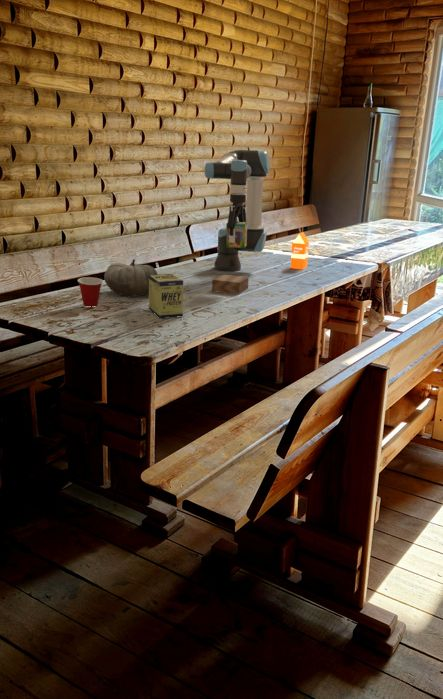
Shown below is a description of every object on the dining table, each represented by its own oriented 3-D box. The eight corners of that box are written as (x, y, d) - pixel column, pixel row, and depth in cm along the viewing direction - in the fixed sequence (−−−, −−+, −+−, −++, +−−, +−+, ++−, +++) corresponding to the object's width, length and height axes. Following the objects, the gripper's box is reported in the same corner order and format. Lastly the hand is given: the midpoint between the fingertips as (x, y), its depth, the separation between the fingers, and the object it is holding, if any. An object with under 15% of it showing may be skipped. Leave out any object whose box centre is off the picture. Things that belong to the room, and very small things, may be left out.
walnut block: (212, 291, 330) (212, 279, 328) (221, 286, 343) (222, 274, 341) (239, 294, 326) (239, 282, 324) (248, 288, 338) (248, 277, 336)
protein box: (159, 319, 280) (159, 282, 275) (148, 309, 294) (148, 274, 289) (183, 317, 284) (183, 280, 279) (171, 307, 298) (171, 273, 293)
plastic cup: (92, 311, 289) (91, 283, 285) (73, 307, 294) (72, 280, 290) (108, 306, 297) (108, 279, 294) (90, 302, 303) (89, 275, 299)
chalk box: (244, 248, 323) (245, 217, 319) (225, 247, 325) (226, 216, 320) (247, 245, 332) (248, 215, 327) (228, 244, 333) (229, 214, 329)
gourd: (127, 297, 301) (125, 258, 299) (93, 297, 318) (91, 259, 316) (168, 295, 319) (167, 258, 317) (134, 294, 336) (133, 259, 334)
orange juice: (290, 268, 390) (292, 233, 384) (294, 265, 398) (296, 231, 392) (303, 269, 387) (305, 234, 381) (307, 266, 395) (309, 232, 389)
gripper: (235, 196, 309) (233, 244, 316) (254, 192, 329) (252, 238, 336) (220, 195, 312) (219, 243, 319) (240, 191, 332) (238, 237, 339)
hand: (236, 240), depth 327 cm, fingers closed on chalk box, 10 cm apart
